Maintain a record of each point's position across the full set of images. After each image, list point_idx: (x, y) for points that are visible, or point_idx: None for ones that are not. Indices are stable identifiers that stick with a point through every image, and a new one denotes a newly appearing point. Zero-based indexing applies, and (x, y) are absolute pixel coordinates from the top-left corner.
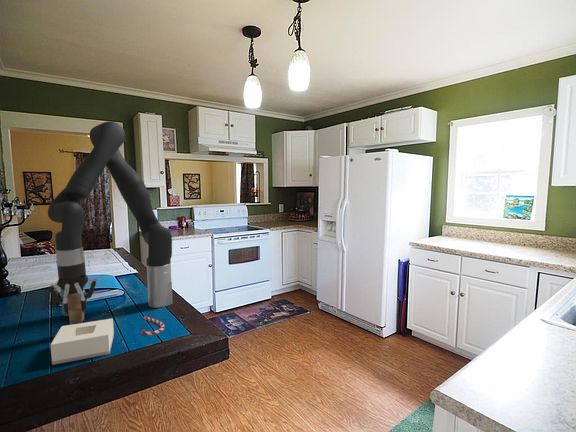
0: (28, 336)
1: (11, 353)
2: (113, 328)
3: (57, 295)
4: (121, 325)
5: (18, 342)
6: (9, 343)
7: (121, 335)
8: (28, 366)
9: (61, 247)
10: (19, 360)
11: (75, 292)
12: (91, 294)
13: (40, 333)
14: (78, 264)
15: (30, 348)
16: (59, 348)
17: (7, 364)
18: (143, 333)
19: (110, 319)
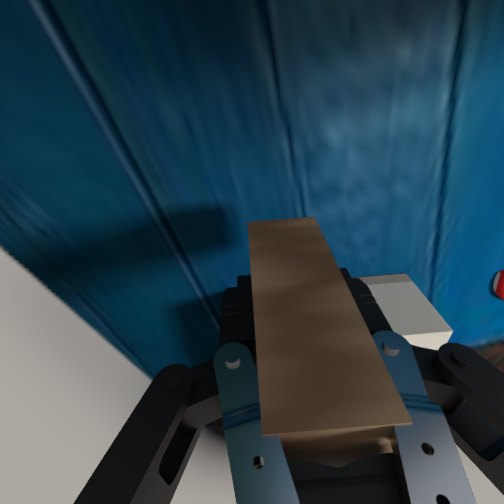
0: (28, 171)
1: (82, 300)
2: (422, 295)
3: (175, 484)
4: (457, 189)
5: (31, 224)
6: None
7: (429, 278)
8: (189, 365)
9: None
10: (144, 339)
11: (342, 460)
12: (466, 415)
13: (71, 151)
14: None
15: (129, 285)
16: None
17: (123, 349)
18: (497, 293)
19: (440, 337)
